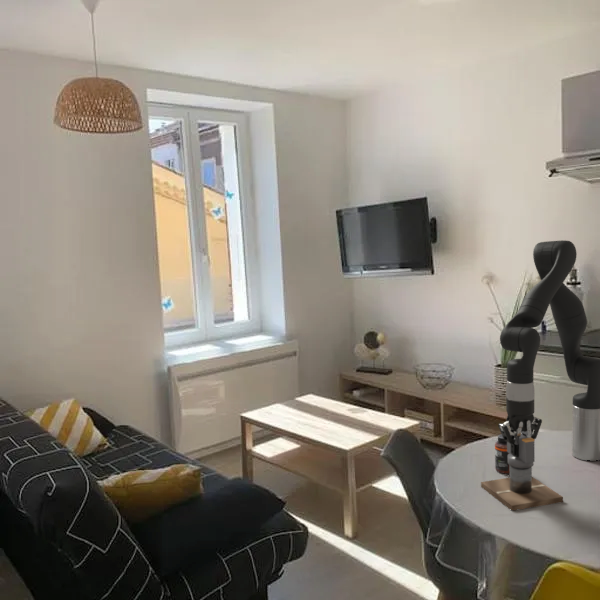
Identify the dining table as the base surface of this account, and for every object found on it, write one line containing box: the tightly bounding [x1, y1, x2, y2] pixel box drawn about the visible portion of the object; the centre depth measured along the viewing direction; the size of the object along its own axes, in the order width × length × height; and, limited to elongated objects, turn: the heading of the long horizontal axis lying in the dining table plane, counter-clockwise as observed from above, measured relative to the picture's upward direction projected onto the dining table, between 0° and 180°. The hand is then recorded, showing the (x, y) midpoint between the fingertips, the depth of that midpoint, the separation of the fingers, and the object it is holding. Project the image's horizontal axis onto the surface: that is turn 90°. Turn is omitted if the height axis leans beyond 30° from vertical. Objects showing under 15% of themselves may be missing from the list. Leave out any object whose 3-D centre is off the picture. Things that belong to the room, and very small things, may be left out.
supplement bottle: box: [494, 433, 510, 474], centre depth 190 cm, size 6×6×11 cm
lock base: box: [480, 465, 564, 511], centre depth 173 cm, size 16×16×9 cm
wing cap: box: [507, 433, 536, 468], centre depth 172 cm, size 9×7×8 cm
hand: (520, 454), depth 172 cm, fingers closed on wing cap, 3 cm apart
